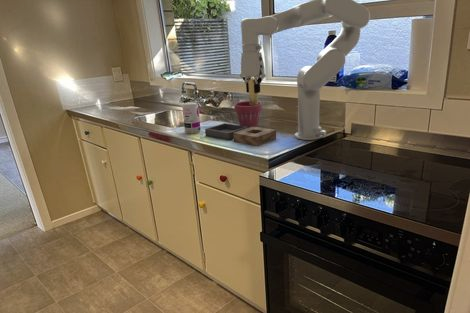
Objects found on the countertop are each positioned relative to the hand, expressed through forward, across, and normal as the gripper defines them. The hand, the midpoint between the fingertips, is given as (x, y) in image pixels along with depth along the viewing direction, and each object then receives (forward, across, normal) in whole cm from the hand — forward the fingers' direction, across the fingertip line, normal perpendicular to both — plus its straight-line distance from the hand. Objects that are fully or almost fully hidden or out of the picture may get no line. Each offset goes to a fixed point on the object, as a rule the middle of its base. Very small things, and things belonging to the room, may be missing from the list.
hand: (253, 92), depth 154 cm
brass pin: (+5, 0, 0) cm, 5 cm away
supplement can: (+22, +38, +5) cm, 44 cm away
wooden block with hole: (+22, 0, 0) cm, 22 cm away
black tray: (+22, +18, 0) cm, 29 cm away
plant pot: (+22, +18, -17) cm, 33 cm away
